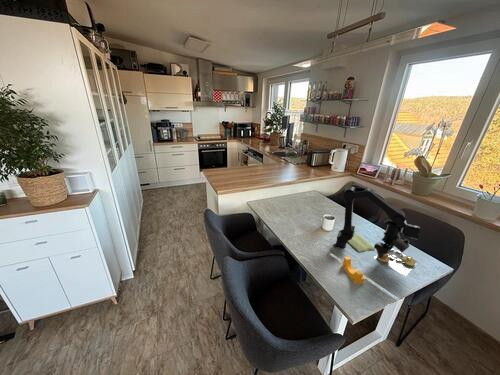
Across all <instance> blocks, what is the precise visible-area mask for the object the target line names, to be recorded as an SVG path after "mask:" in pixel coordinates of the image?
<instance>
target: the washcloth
mask: <svg viewBox="0 0 500 375" xmlns="http://www.w3.org/2000/svg"><path fill="white" fill-rule="evenodd" d="M347 244H348V245H350V247H351V248H353V249H354V250H356V251H357V253H364V252H365V253H366V252H368V251H370V252H371V251H372V252H373V251H375V250H376V249H375V248H374V246H373V245H372V244H370V243H369V242H368V241H367V240H365V238H364V237H362V236H361V235H359V234H358V233H354V237H352V239H351V240H348V241H347Z"/></svg>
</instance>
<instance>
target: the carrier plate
mask: <svg viewBox="0 0 500 375" xmlns="http://www.w3.org/2000/svg"><path fill="white" fill-rule="evenodd" d="M377 255H378V254H377ZM377 255H375V256H374V257H373V258H374V259H376V260H377V261H379V260H378V259H377ZM387 256H388V257H389V258H390V260H389V262H388V263H383V262H381V261H379V262H381V263H382V264H384V265H385V266H387V267H389V268H390V269H392V270H394V271H395V272H397V273H398V274H401V275H403V276H404V277H407V276H408V275H409V274H410V272H412V270H414V268H415V267H417V265H418V264H419V263H420V262H419V261H418V260H416V259H414V258H413V257H412V256H410V255H406V254H404V253H403V252H400V251H399V249H395V248H394V247H393V248H392V249H391V251H390V252H389V253H388V255H387Z"/></svg>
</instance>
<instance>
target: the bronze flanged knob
mask: <svg viewBox="0 0 500 375" xmlns="http://www.w3.org/2000/svg"><path fill="white" fill-rule="evenodd" d="M387 255H388V253H387V254H384V255H383V257H382V258H381V259H380V258H379V256H378V254H377V259H378V260H377V259H376V260H377V261H378V262H380V261H381V263H382V262H383V263H382V264H384V263H388V262H389V260H390V258H389V257H388V256H387Z"/></svg>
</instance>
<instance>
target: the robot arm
mask: <svg viewBox="0 0 500 375" xmlns="http://www.w3.org/2000/svg"><path fill="white" fill-rule="evenodd" d="M362 198H367V199H368V200H369V201H370V202H372V204H375V206H377V207H378V208H379V209H380V210H382V211H383V212H384V213H385V214H386V216H387V217H388V218H387V219H386V218H385V219H384V225H387V226H386V229H385V231H383V237H382V238H381V241H379V242H378V241H377V242H376V243H375V244H374V246H373V247H374V249H375V250H376V252H377V255H378V256H379V258H380V259H381V258H382V257H383V255H384V254H387V253H389V252H390V251H391V249H392V248H393V249H394V248H396V250H399V251H400V252H401V253H404V252H406V250H408V249H409V248H410V240H409V239H406V238H410V239H414V240H418V239H419V238H420V230H421V227H420V226H419V225H414V224H409V223H407V220H406V215H405V212H404V211H403V210H402V209H400V208H399V207H397V206H394V205H392V204H390V203H388V202H387V201H386V200H385V199H383V198H382V197H381V196H379V194H377V193H376V192H374V191H373V190H372V188H369V187H359V186H352V185H351V186H350V185H349V186H347V187H345V190H344V192H343V201H344V204H345V206H344V207H345V209H344V224H343V227H342V229H341V230H338V233H337V236H336V242H335V243H334V244H332V246H333V247H335V248H336V249H338V248H339V249H345V248H346V247H347V244H348V242H347V241H348V240H351V239H352V237H354V234H356V233H355V232H356V230H355V228H356V226H355V225H353V213H354V212H353V210H354V201H355V199H362ZM400 233H401V234H402V236H403V237H406V238H405V239H403V238H402V237H401V235H400Z"/></svg>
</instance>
